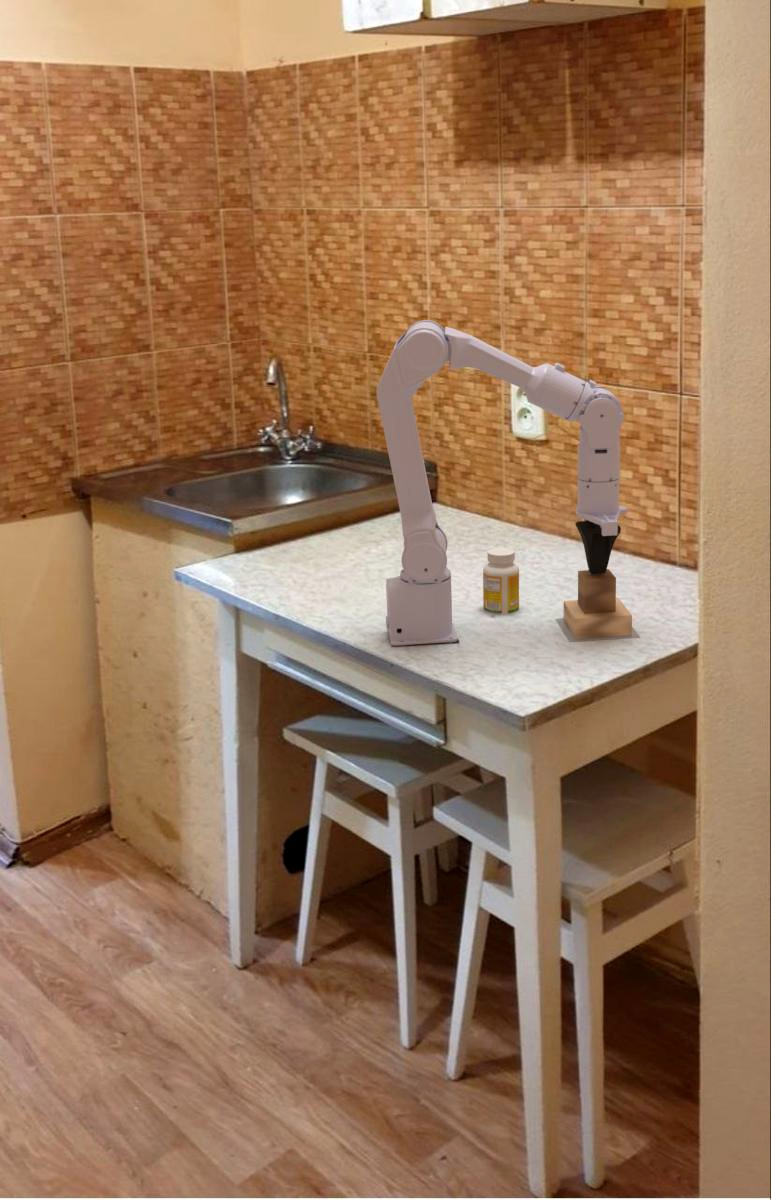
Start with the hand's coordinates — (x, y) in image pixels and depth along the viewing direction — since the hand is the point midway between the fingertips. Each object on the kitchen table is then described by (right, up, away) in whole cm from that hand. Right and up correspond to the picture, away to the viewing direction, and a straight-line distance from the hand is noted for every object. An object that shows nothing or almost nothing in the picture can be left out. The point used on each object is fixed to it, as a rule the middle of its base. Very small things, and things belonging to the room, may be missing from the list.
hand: (597, 572), depth 182 cm
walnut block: (0, -5, +2) cm, 5 cm away
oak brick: (0, -8, +3) cm, 8 cm away
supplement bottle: (-12, -6, +13) cm, 19 cm away
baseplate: (0, -8, +3) cm, 9 cm away
